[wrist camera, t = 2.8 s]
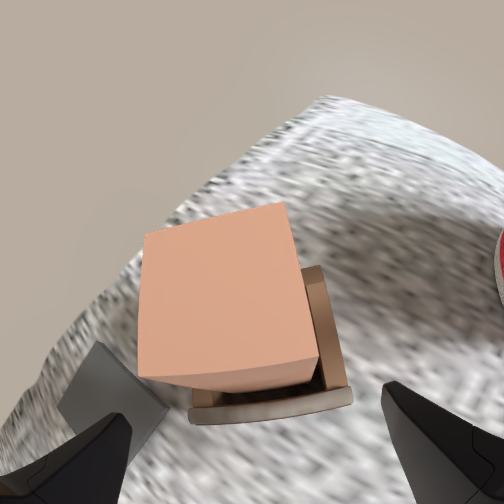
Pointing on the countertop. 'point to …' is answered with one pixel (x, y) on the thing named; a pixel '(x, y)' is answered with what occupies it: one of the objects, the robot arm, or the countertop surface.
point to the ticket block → (225, 305)
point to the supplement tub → (500, 265)
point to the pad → (110, 397)
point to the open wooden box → (332, 396)
